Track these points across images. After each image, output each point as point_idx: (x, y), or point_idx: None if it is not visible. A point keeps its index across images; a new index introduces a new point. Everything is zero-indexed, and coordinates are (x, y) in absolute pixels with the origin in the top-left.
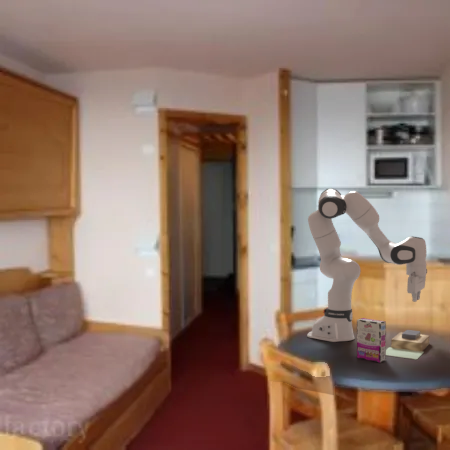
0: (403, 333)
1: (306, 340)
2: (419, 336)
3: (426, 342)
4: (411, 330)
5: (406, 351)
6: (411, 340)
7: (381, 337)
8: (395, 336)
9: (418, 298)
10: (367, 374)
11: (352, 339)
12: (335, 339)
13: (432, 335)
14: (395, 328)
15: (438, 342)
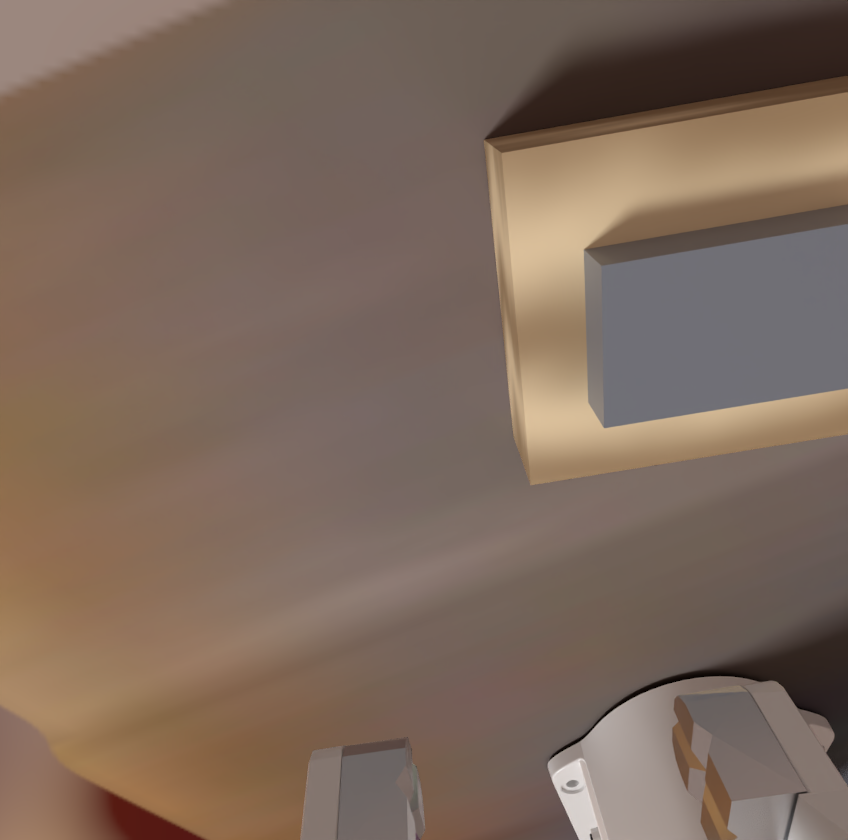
0: (834, 378)
1: None
2: (641, 236)
3: (667, 114)
4: (615, 371)
5: None
6: None
7: None
8: (767, 442)
9: (405, 778)
10: None
11: (719, 677)
12: (823, 730)
13: (45, 275)
14: (96, 636)
15: (329, 71)
